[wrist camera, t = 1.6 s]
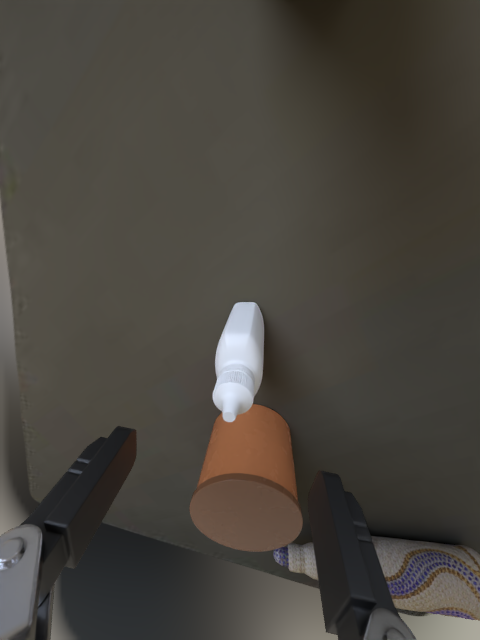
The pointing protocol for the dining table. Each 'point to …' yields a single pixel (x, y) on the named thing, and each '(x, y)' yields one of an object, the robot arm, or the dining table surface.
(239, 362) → the eye dropper bottle
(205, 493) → the copper canister
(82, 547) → the robot arm
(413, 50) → the dining table surface
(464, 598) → the decorative bottle
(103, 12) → the dining table surface
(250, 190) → the dining table surface
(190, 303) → the dining table surface
